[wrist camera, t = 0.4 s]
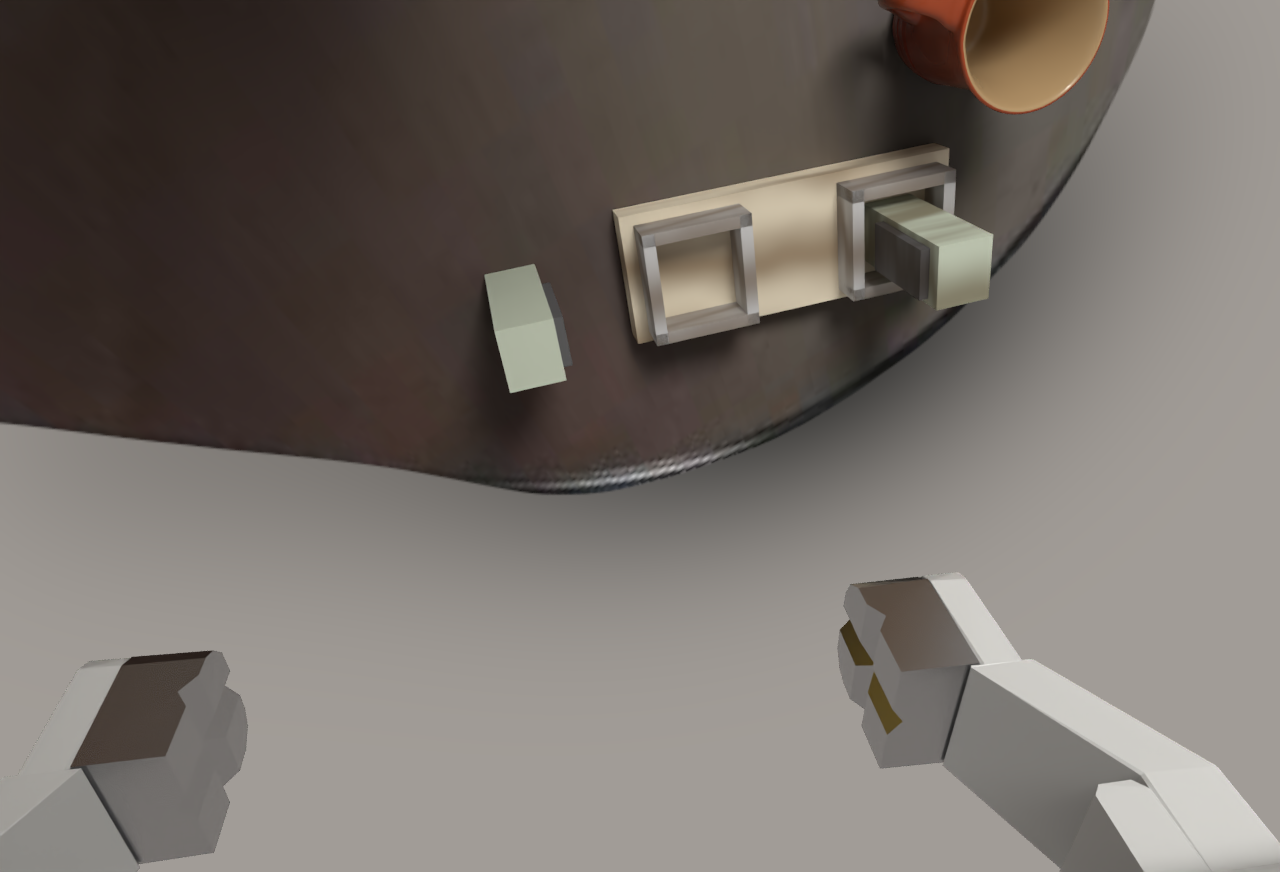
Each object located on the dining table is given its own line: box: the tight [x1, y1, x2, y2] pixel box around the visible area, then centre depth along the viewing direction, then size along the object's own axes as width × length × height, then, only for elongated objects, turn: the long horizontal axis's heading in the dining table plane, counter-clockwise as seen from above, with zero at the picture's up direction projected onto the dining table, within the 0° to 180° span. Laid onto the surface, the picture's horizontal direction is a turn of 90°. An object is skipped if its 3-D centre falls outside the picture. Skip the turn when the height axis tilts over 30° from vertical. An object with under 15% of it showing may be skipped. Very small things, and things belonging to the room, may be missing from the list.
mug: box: [878, 0, 1109, 114], centre depth 49 cm, size 12×9×10 cm
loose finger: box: [485, 264, 573, 393], centre depth 53 cm, size 4×4×10 cm
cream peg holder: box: [612, 143, 993, 346], centre depth 54 cm, size 9×23×12 cm, turn 98°
